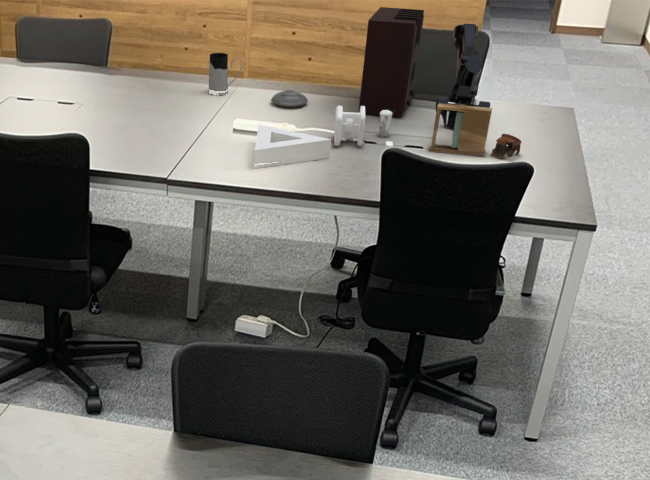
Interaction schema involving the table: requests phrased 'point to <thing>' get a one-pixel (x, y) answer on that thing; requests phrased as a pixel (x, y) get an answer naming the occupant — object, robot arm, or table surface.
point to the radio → (391, 60)
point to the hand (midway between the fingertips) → (457, 128)
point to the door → (457, 129)
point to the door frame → (465, 130)
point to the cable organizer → (349, 125)
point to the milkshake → (385, 122)
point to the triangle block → (288, 147)
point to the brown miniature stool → (503, 149)
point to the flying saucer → (289, 98)
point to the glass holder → (219, 72)
